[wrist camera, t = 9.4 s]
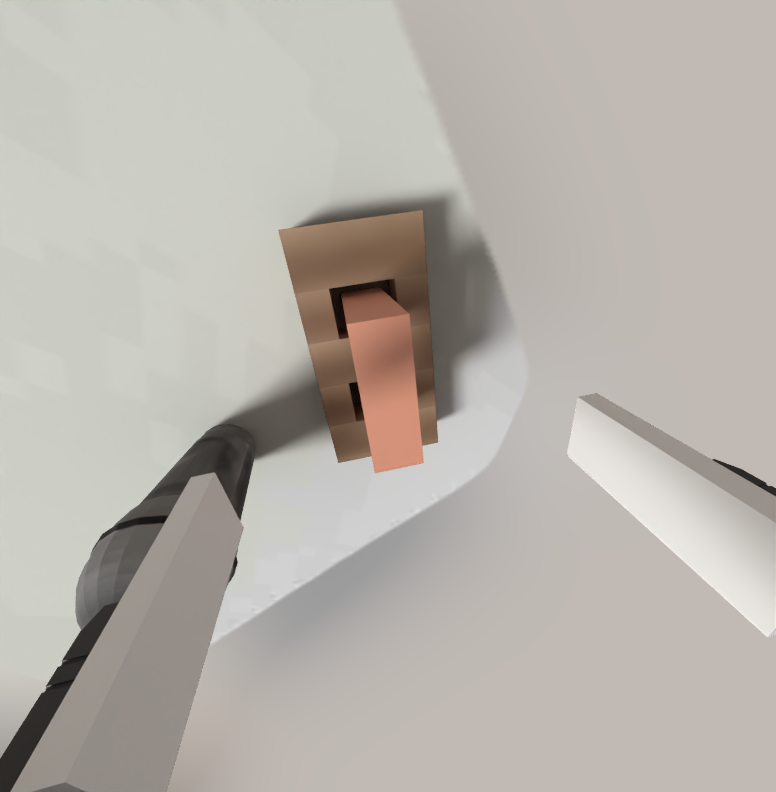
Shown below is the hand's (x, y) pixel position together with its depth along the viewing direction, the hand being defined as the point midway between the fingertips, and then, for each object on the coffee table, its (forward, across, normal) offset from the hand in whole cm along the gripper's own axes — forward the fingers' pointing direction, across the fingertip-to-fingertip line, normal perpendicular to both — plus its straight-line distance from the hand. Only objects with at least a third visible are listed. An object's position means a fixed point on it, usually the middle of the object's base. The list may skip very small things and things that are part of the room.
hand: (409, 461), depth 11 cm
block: (+16, 0, -1) cm, 16 cm away
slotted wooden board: (+16, 0, -1) cm, 16 cm away
